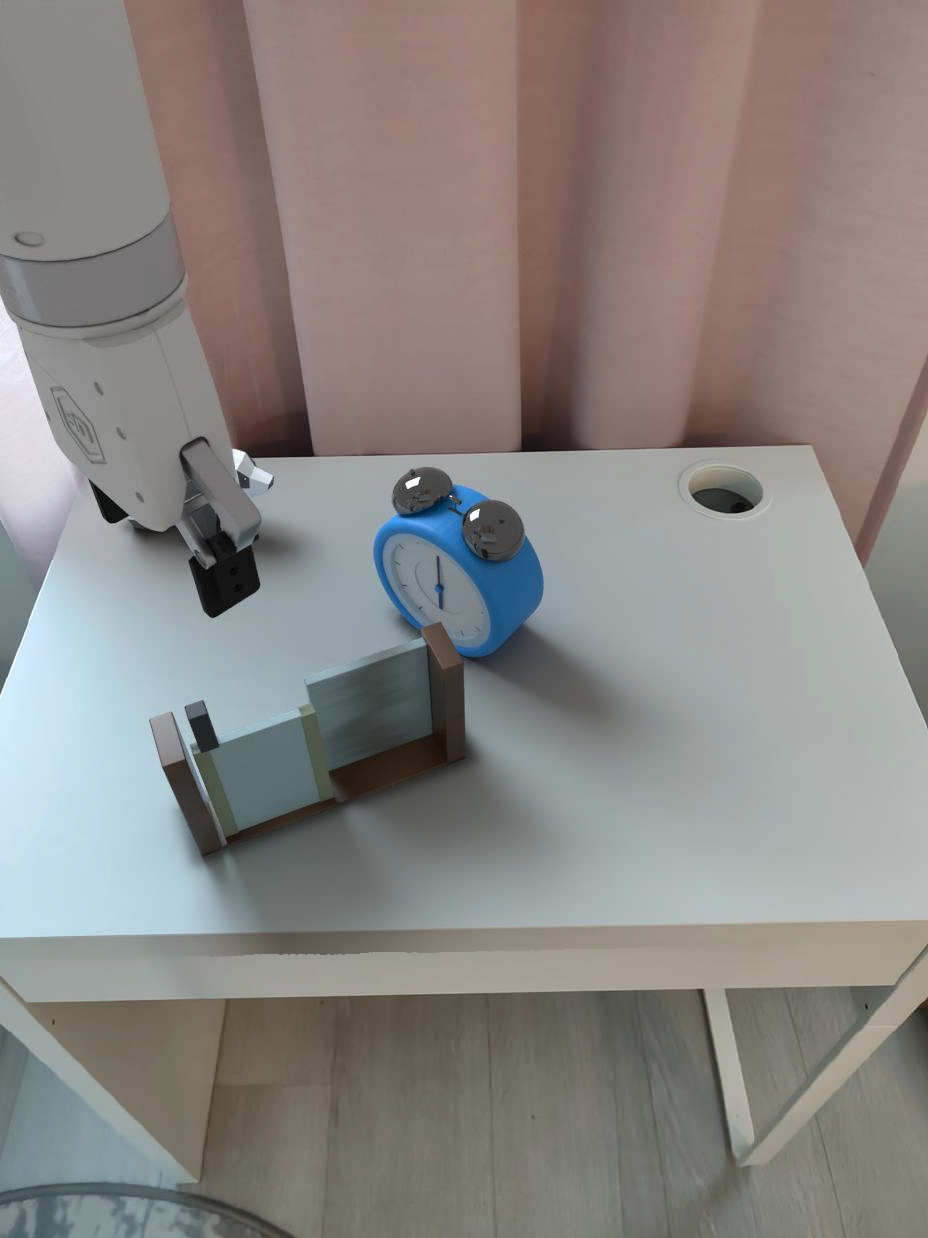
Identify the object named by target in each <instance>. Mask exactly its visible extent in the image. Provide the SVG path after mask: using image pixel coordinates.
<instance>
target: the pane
mask: <svg viewBox="0 0 928 1238" xmlns="http://www.w3.org/2000/svg"><path fill="white" fill-rule="evenodd" d="M184 711H185V714H186V718H187V722H188V724H189V726H190V729H191V732H192V734H193V737H194V739H195V742H191V743H190V744H189V748H190V752H191V755H192V757H193V759H194V762H195V765H196V768H197V770H198V773H199V775H200V777H201V780H202V783H203V785H204V787H205V790H206V792H207V795H208V797H209V801H210V800H211V803H212V805H213V808H214V810H215V813H216V815H217V818H218V820H219V823H220V825H221V828H222V830H223V833H224V836H225V837H228V836H231V835H234V834H236V833H239V831H241V830H243V829H246V828H249V827H252V826H254V825H257V824H260V823H262V822H265V821H268V820H270V819H273V818H276V817H278V816H281V815H284V814H287V813H289V812H292V811H295V810H297V809H300V808H303V807H305V806H308V805H311V804H313V803H316V802H319V801H321V802H322V801H325V800H328V799H330V798H333V797H334V794H333V790H332V785H331V781H330V776H329V771H328V767H327V762H326V757H325V753H324V748H323V743H322V739H321V734H320V729H319V725H318V720H317V715H316V712H315V709H314V707H313V704H312V703H309V702H308V703H306V704H303V705H301V706H300V705H299V706H297V708H295V709H293V710H289V711H287V712H284V713H281V714H278V715H275V716H272V717H270V718H266V719H263V720H261V721H258V722H254V723H252V724H249V725H245V726H243V727H240V728H238V729H235V730H231V731H228V732H226V733H222V734H220V735H217V734H216V731H215V728H214V726H213V722H212V720H211V717H210V714H209V712H208V709H207V706H206V703H205V701H204V700H203V699H201V700H199V701H195V702H193V703H190V704H187V705H184Z"/></svg>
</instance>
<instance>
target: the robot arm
mask: <svg viewBox="0 0 928 1238" xmlns="http://www.w3.org/2000/svg"><path fill="white" fill-rule="evenodd" d="M151 117H152V116H151V113H150V109H149V105H148V101H147V96H146V92H145V88H144V83H143V79H142V73H141V70H140V65H139V62H138V57H137V53H136V49H135V44H134V40H133V36H132V32H131V28H130V23H129V19H128V14H127V9H126V7H125V1H124V0H0V299H1V301H2V304H3V306H4V309H5V311H6V313H7V315H8V317H9V318H10V320H11V321H12V322H13V323H14V324H16V329H17V332H18V336H19V339H20V342H21V346H22V349H23V353H24V356H25V357H26V361H27V365H28V368H29V370H30V374H31V377H32V379H33V382H34V385H35V389H36V392H37V395H38V397H39V400H40V403H41V406H42V409H43V413H44V414H45V418H46V421H47V424H48V426H49V430H50V432H51V434H52V437H53V439H54V442H55V444H56V445H57V447H58V448H59V449H60V451H61V453H62V454H63V455H64V456H65V457H66V459H68V461H70V462H71V463H72V465H74V467H76V468H77V469H78V470H79V471H80V473H82V474H83V475H84V476H85V477H86V478H87V480H88V483H89V485H90V488H91V490H92V493H93V496H94V498H95V501H96V503H97V507H98V509H99V511H100V515H101V517H102V518H103V520H105V521H106V522H107V523H108V524H111V525H112V524H117V523H119V522H121V521H122V520H125V519H127V518H126V517H128V516H131V517H132V518H133V519H135V520H136V521H137V522H138V523H140V524H141V525H143V526H144V527H146V528H149V529H148V530H152V531H155V532H161V533H162V532H165V531H167V530H168V529H169V528H171V527H173V526H176V528H177V530H178V531H179V532H180V534H181V536H182V538H183V539H184V541H185V543H186V545H187V546H188V548H189V549H190V551H191V553H192V554H193V555H192V556H191V557H190V559H188V560H187V562H188V565H189V569H190V572H191V575H192V578H193V579H192V580H193V582H194V585H195V588H196V591H197V595H198V598H199V602H200V605H201V608H202V611H203V613H205V614H206V616H208V617H209V618H210V619H215V618H218V617H219V616H220V615H222V614H224V613H225V612H227V611H228V610H230V609H232V608H233V607H235V606H236V605H238V604H240V603H241V602H243V601H245V600H246V599H247V598H249V597H251V596H253V595H254V594H255V593H257V592H258V591H259V590H260V589H261V588H260V587H261V581H260V575H259V571H258V568H257V563H256V560H255V559H256V558H255V554H254V551H253V547H252V544H254V543H255V542H257V541H259V539H260V535H259V531H260V527H261V524H262V514H261V513H260V510H259V509H258V507H257V506H256V504H255V503H254V502H253V501H252V500H251V498H249V497H248V496H247V495H246V493H245V492H244V491H243V489H242V488H241V487H240V486H239V484H238V483H237V482H236V471H235V463H234V457H233V452H232V449H233V448H232V443H231V439H230V435H229V431H228V428H227V422H226V419H225V416H224V413H223V410H222V405H221V401H220V398H219V395H218V391H217V389H216V384H215V382H214V379H213V376H212V373H211V370H210V366H209V364H208V360H207V358H206V355H205V351H204V349H203V346H202V342H201V340H200V338H199V335H198V332H197V329H196V326H195V323H194V321H193V318H192V316H191V313H190V311H189V308H188V305H187V303H186V301H185V300H184V298H183V297H184V296H185V294H186V292H187V290H188V286H189V275H188V271H187V266H186V263H185V262H186V261H185V258H184V253H183V248H182V243H181V239H180V236H179V231H178V228H177V224H176V219H175V215H174V210H173V207H172V206H173V205H172V202H171V198H170V193H169V190H168V186H167V180H166V177H165V172H164V168H163V164H162V163H163V162H162V160H161V155H160V151H159V147H158V142H157V139H156V135H155V130H154V125H153V121H152V118H151ZM189 481H192V482H193V483H194V485H195V486H196V487H197V488H198V490H199V491H200V492H201V493H200V494H198V495H196V496H194V497H193V498H191V499H189V500H187V501H185V496H186V489H187V483H188V482H189ZM209 504H210V505H211V506H212V508H213V509H214V510H215V512H216V513H217V516H218V517H217V518H219V521H220V525H219V527H220V528H221V530H220V531H218V532H216V534H215V535H214V536H212V537H210V538H204V536H203V534H202V533H201V531H200V529H199V528H198V526H197V524H196V523H195V521H194V519H193V518H192V516H191V514H193V513H195V512H196V511H198V510H200V509H202V508H203V507H205V506H207V505H209ZM175 524H176V525H175Z"/></svg>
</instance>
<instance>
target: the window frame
mask: <svg viewBox="0 0 928 1238" xmlns="http://www.w3.org/2000/svg"><path fill="white" fill-rule="evenodd" d="M303 682H304V687H305V691H306V695H307V700H308V704H309V703H312V704H313V707H314V709H315V712H316V715H317V720H318V725H319V729H320V734H321V739H322V743H323V748H324V753H325V757H326V762H327V767H328V771H329V776H330V781H331V785H332V790H333V794H334V797H333V798H330V799H328V800H325V801H322V802H321V801H319V802H316V803H313V804H311V805H308V806H305V807H303V808H300V809H297V810H295V811H292V812H289V813H287V814H284V815H281V816H278V817H276V818H273V819H270V820H268V821H265V822H262V823H260V824H257V825H254V826H252V827H249V828H246V829H243V830H241V831H239V833H236V834H234V835H231V836H228V837H225V836H224V833H223V830H222V828H221V825H220V823H219V820H218V818H217V815H216V813H215V810H214V808H213V805H212V803H211V800H210V799H209V800H208V797H207V795H206V791H205V790H204V788H203V785H202V783H201V780H200V777H199V775H198V772H197V770H196V768H195V765H194V762H193V760H192V758H191V755H190V753H189V751H188V747H187V745H186V742H185V740H184V737H183V735H182V732H181V730H180V727H179V725H178V723H177V719H176V717H175V715H174V712H173V711H169V712H167V713H163V714H159V715H157V716H154V717H151V718H149V719H148V722H149V726H150V729H151V734H152V737H153V740H154V743H155V747H156V751H157V755H158V759H159V762H160V766H161V769H162V771H163V774H164V776H165V778H166V780H167V783H168V784H169V787H170V790H171V791H172V794H173V795H174V798H175V800H176V802H177V805H178V808H179V809H180V811H181V813H182V817H183V818H184V820H185V822H186V825H187V827H188V829H189V831H190V834H191V836H192V838H193V841H194V843H195V845H196V847H197V849H198V852H199V854H200V856H201V858H203V857H206V856H209V855H211V854H214V853H216V852H219V851H221V850H225V849H227V848H230V847H233V846H236V845H238V844H240V843H243V842H247V841H248V840H251V839H253V838H257V837H259V836H262V835H265V834H268V833H271V832H273V831H276V830H278V829H281V828H283V827H286V826H289V825H291V824H295V823H297V822H299V821H303V820H304V819H308V818H309V817H312V816H313V817H314V816H315V815H318V814H320V813H323V812H326V811H329V810H331V809H334V808H337V807H339V806H342V805H345V804H348V803H351V802H353V801H355V800H358V799H361V798H364V797H366V796H369V795H372V794H374V793H376V792H379V791H382V790H385V789H387V788H390V787H392V786H396V785H398V784H401V783H404V782H406V781H409V780H411V779H414V778H417V777H420V776H422V775H425V774H427V773H430V772H433V771H435V770H439V769H441V768H443V767H447V766H449V765H451V764H454V763H457V762H460V761H463V760H465V759H466V758H467V742H466V701H465V662H464V660H463V659H462V657H461V655H460V654H459V653H458V652H457V650H456V648H455V646H454V644H453V643H452V641H451V639H450V637H449V635H448V634H447V632H446V630H445V628H444V626H443V625H442V623H441V622H437V623H434V624H431V625H428V626H426V627H423V628H421V631H420V637H419V638H416V639H414V640H410V641H407V642H404V643H401V644H398V645H395V646H392V647H390V648H386V649H384V650H380V651H378V652H374V653H372V654H369V655H366V656H363V657H359V658H357V659H354V660H350V661H348V662H345V663H341V664H339V665H336V666H333V667H331V668H330V667H329V668H327V669H325V670H321V671H319V672H315V673H312V674H309V675H307V676H304V677H303Z"/></svg>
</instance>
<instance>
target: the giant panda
mask: <svg viewBox="0 0 928 1238" xmlns="http://www.w3.org/2000/svg"><path fill="white" fill-rule="evenodd" d="M232 452H233V457H234V463H235V471H236V482H237V483H238V484H239V486H240V487H241V488H242V489H243V491H244V492H245V493H246V495H247V496H248V497H249V498H250V499H251V498H254V497H257V496H261V495H264V494H266V493H268V492H269V490H270V489H271V488H272V487H273V486H274V481H275V476H274V475H273V474H271V473H268V472H267V471H265V470H264V469H261V468H259V467H258V465H257V463H256V462H255V460H254V459H253V458H252V457H251V456H250V455H249V454H248V453H247V452H245V451H242V450H240V449H236V448H232ZM200 493H201V492H200V491H199V490H198V488H197V487H196V486H195V485H194V483H193V482H192V481H189V482H188V483H187V489H186V496H185V501H187V500H189V499H191V498H193V497H194V496H196V495H198V494H200ZM191 516H192V518H193V519H194V521H195V523H196V524H197V526H198V528H199V529H200V531H201V533H202V534H203V536H204V538H205V539H209V538H210V537H212V536H214V535H215V534H217V530H218V527H217V518H218V517H217V516H218V515H217V513H216V512H215V510H214V509H213V508H212V506H211V505H210V504H209V505H207V506H205V507H203V508H202V509H200V510H198V511H196V512H195V513H193V514H191ZM125 519H127V521H128V522H129V523H130V524H131V526H132V528H134V529H140V530H150V529H149V528H146V527H144V526H143V525H141V524H140V523H138V522H137V521H136V520H135V519H133V518H132V517H131V516H128V517H126V518H125ZM174 526H176V524H175V525H174Z"/></svg>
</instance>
